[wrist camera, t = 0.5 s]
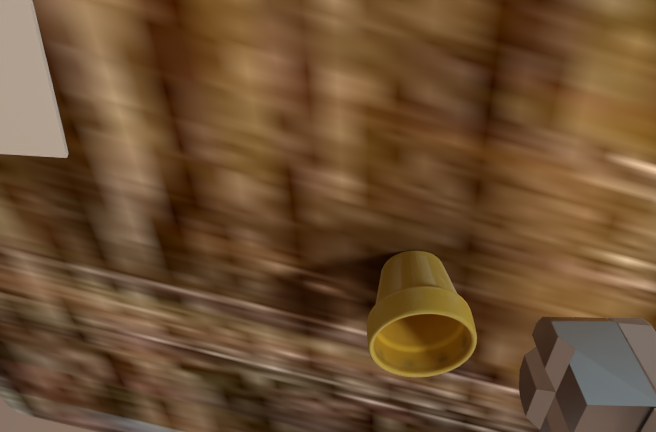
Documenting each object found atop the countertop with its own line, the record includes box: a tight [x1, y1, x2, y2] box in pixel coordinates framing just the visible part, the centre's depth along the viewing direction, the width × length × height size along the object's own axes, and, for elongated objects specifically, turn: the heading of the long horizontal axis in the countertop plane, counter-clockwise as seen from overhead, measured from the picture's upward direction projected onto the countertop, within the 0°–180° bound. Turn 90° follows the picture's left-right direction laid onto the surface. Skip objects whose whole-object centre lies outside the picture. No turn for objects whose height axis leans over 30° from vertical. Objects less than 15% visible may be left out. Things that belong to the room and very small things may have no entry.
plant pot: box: [367, 250, 477, 377], centre depth 63 cm, size 10×10×10 cm
